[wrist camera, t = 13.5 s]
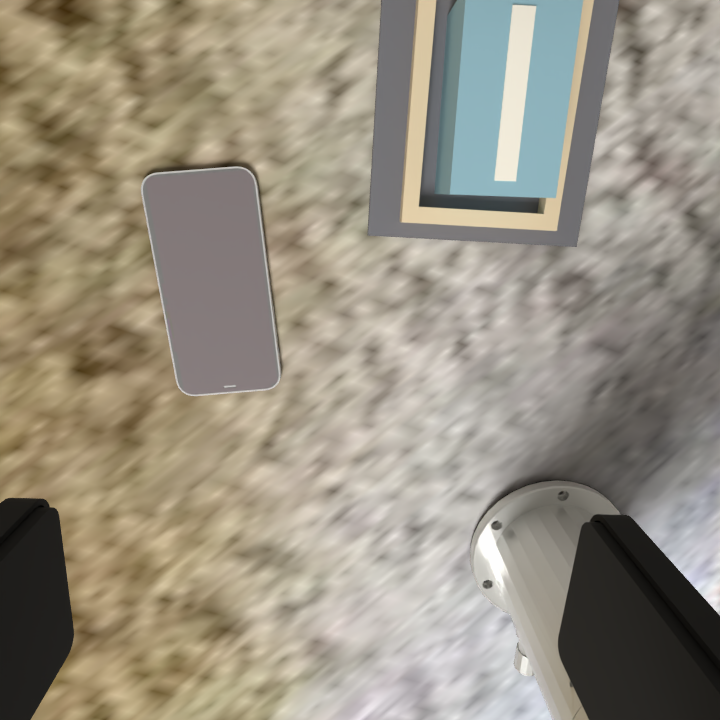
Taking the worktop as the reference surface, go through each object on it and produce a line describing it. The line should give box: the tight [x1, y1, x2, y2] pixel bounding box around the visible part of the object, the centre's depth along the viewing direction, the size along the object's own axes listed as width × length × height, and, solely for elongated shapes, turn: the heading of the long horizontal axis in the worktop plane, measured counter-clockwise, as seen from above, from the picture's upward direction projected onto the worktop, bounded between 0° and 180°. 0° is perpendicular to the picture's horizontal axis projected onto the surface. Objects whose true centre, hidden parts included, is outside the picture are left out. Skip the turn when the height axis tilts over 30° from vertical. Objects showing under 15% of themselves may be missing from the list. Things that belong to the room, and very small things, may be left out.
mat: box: [368, 0, 619, 247], centre depth 33 cm, size 16×14×2 cm
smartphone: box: [141, 166, 281, 396], centre depth 36 cm, size 7×1×15 cm
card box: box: [434, 0, 583, 198], centre depth 31 cm, size 10×6×5 cm, turn 178°
